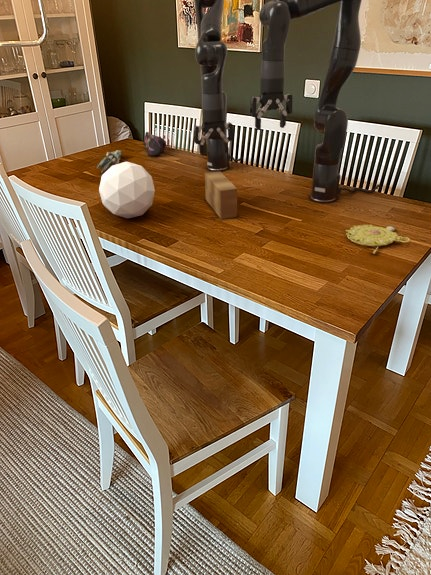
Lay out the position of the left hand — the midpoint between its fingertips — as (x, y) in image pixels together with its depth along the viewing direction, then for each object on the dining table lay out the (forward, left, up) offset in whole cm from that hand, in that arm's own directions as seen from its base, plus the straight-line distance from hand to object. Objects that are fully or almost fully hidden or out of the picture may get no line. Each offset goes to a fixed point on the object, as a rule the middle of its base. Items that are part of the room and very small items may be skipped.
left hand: (214, 153), depth 162 cm
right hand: (-12, +17, +10) cm, 23 cm away
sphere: (+33, -6, -18) cm, 38 cm away
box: (+2, +7, -18) cm, 20 cm away
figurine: (+17, -69, -18) cm, 73 cm away
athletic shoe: (-11, -76, -18) cm, 79 cm away
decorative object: (-24, +58, -18) cm, 65 cm away
